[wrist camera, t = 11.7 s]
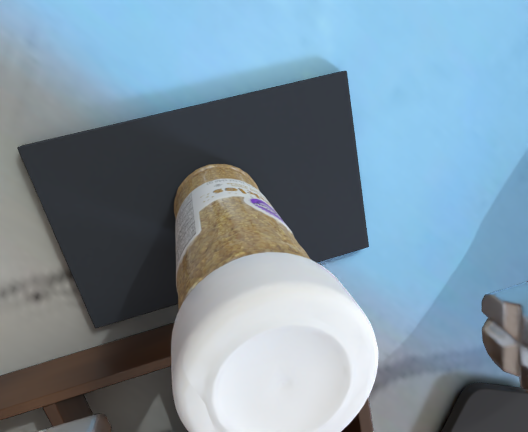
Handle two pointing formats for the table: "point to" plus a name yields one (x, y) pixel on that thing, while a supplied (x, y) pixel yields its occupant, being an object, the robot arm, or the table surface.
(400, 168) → the table surface
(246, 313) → the sprinkles bottle
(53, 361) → the spice rack
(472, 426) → the phone
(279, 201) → the rubber mat
